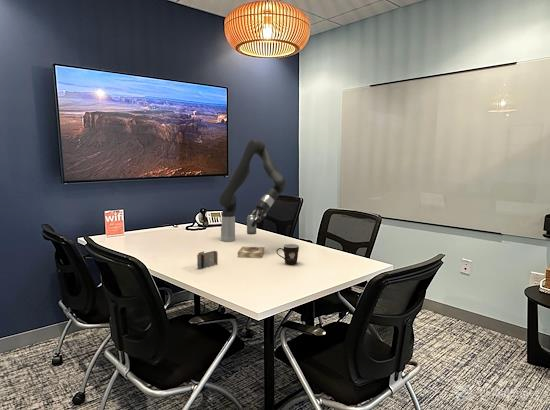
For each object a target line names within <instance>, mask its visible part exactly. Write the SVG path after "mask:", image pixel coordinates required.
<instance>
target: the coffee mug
mask: <svg viewBox="0 0 550 410" xmlns="http://www.w3.org/2000/svg"><path fill="white" fill-rule="evenodd" d="M282 246H283V248H282V247H279V248H277V249H276V254H277V255H278V257H280V258H283V260H284V264H285V265H287V266H296V265H297V264H298V258H299V249H300V245H299V244H295V243H286V244H283V245H282ZM280 250H282V252H283V255H284V256H283V255H280V253H278V251H280Z"/></svg>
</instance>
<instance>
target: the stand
mask: <svg viewBox="0 0 550 410" xmlns="http://www.w3.org/2000/svg"><path fill="white" fill-rule="evenodd" d="M264 254H265V247H264V246H241V247H240V249H239V250H237V258H247V259H248V258H251V259H262V258H263V257H264Z"/></svg>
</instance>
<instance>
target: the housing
mask: <svg viewBox="0 0 550 410" xmlns="http://www.w3.org/2000/svg"><path fill="white" fill-rule="evenodd" d="M247 216H248V217H247ZM247 216H246V221H247V225H246V234H247V235H250V236H251V235H256V234H257V224H256V225H255V226H254V227H252V226H251V224H252V223H253V221H254V220H255V218H256V217H255V215H248V214H247Z"/></svg>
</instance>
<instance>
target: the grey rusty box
mask: <svg viewBox="0 0 550 410" xmlns="http://www.w3.org/2000/svg"><path fill="white" fill-rule="evenodd" d="M196 256H197V257H196V261H197V269H199V270H202V268H203V269H206V268H210V267H214V266H218V265H219V264H218V262H219V261H218V260H219V259H218V251H216V250H211V251H208V252H205V251H200V252H198V253H197V255H196Z"/></svg>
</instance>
